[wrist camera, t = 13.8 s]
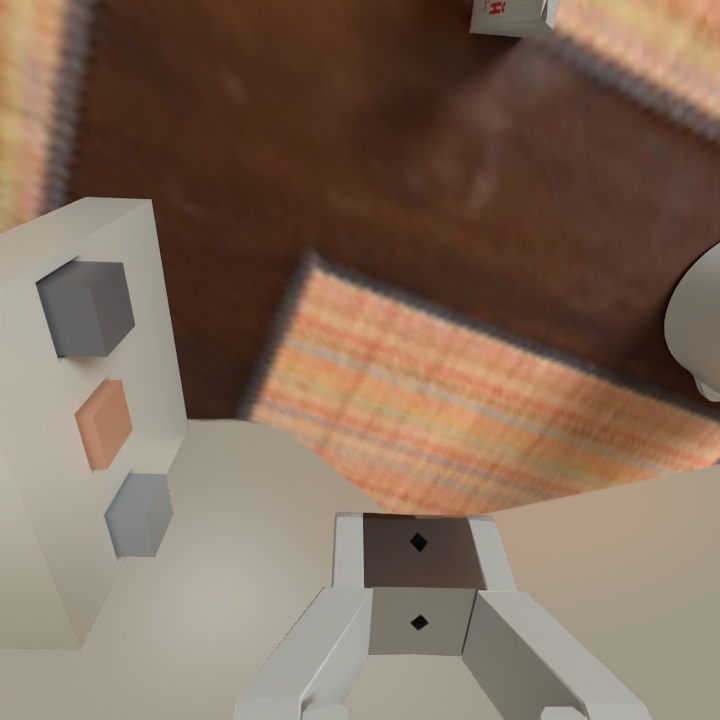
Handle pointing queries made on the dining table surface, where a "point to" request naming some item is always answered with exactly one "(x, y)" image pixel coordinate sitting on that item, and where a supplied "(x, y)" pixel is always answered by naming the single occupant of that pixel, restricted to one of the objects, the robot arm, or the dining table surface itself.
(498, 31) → the white carton box
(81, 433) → the terracotta button
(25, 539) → the control panel
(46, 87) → the dining table surface
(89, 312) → the charcoal button
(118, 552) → the slate grey button
